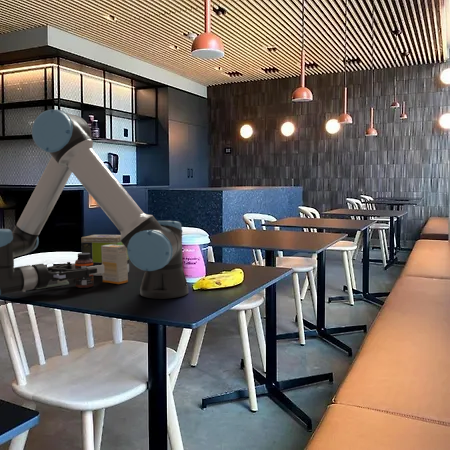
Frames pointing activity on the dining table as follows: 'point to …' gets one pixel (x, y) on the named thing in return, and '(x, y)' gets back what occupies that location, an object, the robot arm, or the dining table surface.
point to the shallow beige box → (56, 283)
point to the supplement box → (114, 263)
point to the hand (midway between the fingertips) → (96, 267)
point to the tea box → (99, 247)
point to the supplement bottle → (84, 262)
